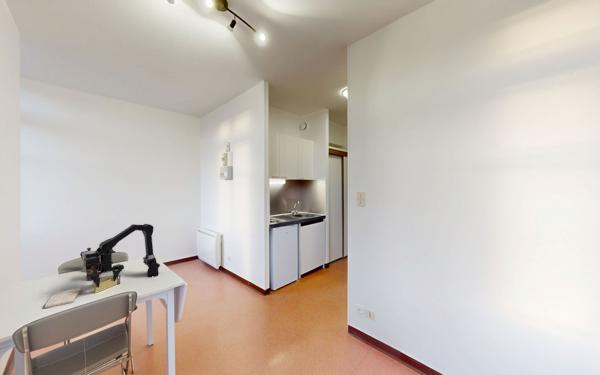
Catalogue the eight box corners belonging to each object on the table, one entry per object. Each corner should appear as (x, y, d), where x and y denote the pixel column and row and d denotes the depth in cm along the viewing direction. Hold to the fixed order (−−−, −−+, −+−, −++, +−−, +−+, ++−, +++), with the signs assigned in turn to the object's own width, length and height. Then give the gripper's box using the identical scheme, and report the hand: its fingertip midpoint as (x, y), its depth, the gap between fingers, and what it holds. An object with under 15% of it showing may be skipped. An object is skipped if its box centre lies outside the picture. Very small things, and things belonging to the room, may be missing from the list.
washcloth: (82, 290, 144) (82, 286, 144) (74, 303, 129) (74, 298, 129) (55, 296, 137) (55, 291, 137) (44, 310, 122) (44, 304, 122)
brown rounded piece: (90, 282, 155) (90, 264, 155) (81, 281, 157) (81, 263, 156) (104, 277, 164) (103, 259, 163) (95, 275, 165) (94, 258, 165)
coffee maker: (101, 268, 179) (101, 246, 178) (88, 273, 170) (88, 250, 170) (87, 267, 182) (87, 245, 182) (74, 271, 173) (74, 248, 173)
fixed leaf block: (117, 281, 156) (117, 274, 156) (115, 283, 153) (115, 276, 153) (94, 285, 151) (94, 278, 151) (92, 287, 147) (92, 280, 147)
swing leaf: (118, 282, 155) (118, 274, 154) (121, 282, 154) (121, 275, 154) (93, 292, 140) (93, 284, 140) (96, 293, 140) (96, 284, 139)
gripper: (113, 255, 156) (113, 277, 156) (80, 264, 138) (80, 288, 138) (124, 256, 152) (124, 279, 152) (91, 266, 134) (92, 291, 135)
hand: (106, 284), depth 144 cm, fingers open, 9 cm apart
